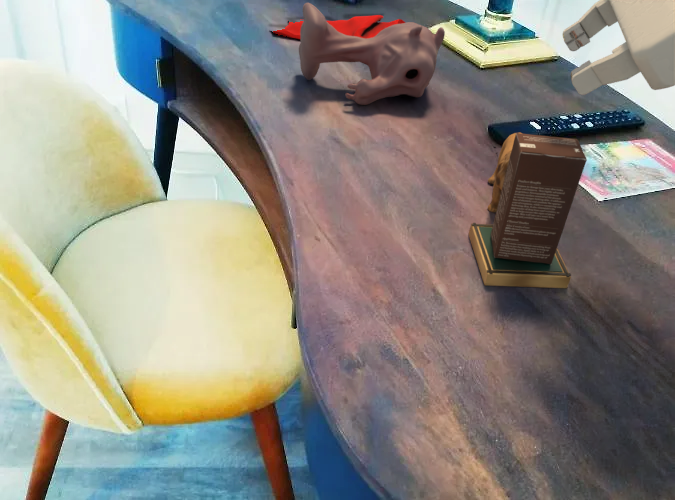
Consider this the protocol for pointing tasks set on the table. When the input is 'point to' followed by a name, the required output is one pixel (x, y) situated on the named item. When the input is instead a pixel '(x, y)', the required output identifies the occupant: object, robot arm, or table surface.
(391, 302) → the table surface
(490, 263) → the green gold display base
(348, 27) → the cloth
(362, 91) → the dragon head
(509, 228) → the box
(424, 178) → the table surface
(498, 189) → the lion figurine
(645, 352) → the table surface
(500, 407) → the table surface
